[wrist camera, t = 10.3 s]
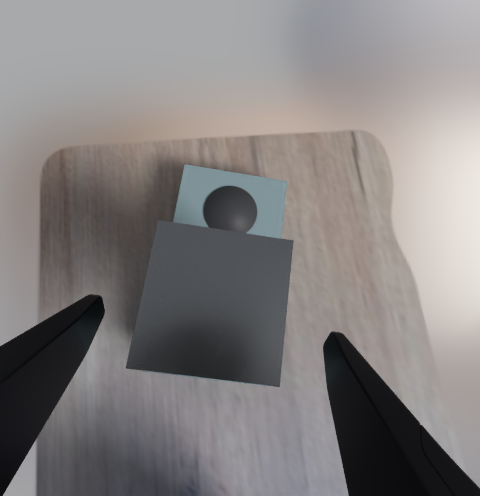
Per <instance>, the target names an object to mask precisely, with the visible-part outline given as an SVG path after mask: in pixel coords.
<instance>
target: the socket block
mask: <svg viewBox="0 0 480 496" xmlns="http://www.w3.org/2000/svg"><path fill="white" fill-rule="evenodd" d="M286 187H287V181H282V180H276V179H270V178H264V177H258V176H252V175H246V174H240V173H234V172H228V171H222V170H216V169H210V168H204V167H198V166H193V165H187V164H185V165H184V170H183V175H182V180H181V185H180V190H179V195H178V200H177V205H176V209H175V214H174V219H173V222H176V223H182V224H189V225H195V226H202V227H208V228H215V229H221V230H228V231H234V232H241V233H247V234H254V235H260V236H267V237H273V238H280V239H281V234H282V225H283V215H284V206H285V196H286ZM143 371H144V370H143ZM145 372H152V371H145ZM153 373H160V372H153ZM161 374H169V373H161ZM170 375H177V374H170ZM178 376H185V375H178ZM186 377H193V376H186ZM194 378H202V377H194ZM202 379H210V378H202ZM211 380H218V379H211ZM219 381H226V380H219ZM227 382H235V381H227ZM235 383H243V382H235ZM243 384H251V383H243ZM252 385H259V384H252ZM260 386H265V385H260Z"/></svg>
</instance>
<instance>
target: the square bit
mask: <svg viewBox="0 0 480 496" xmlns="http://www.w3.org/2000/svg"><path fill="white" fill-rule="evenodd" d="M292 249H293V240H286V239H280V238H273V237H267V236H260V235H254V234H247V233H241V232H234V231H228V230H221V229H215V228H208V227H202V226H195V225H189V224H182V223H176V222H170V221H163V220H158V221H157V226H156V230H155V235H154V240H153V244H152V249H151V253H150V258H149V263H148V267H147V272H146V277H145V281H144V286H143V291H142V295H141V300H140V304H139V309H138V314H137V318H136V323H135V328H134V332H133V337H132V342H131V346H130V351H129V355H128V360H127V365H126V368H127V369H136V370H144V371H152V372H160V373H169V374H177V375H185V376H193V377H202V378H210V379H218V380H226V381H235V382H243V383H251V384H259V385H267V386H276V387H280V376H281V365H282V355H283V344H284V334H285V323H286V312H287V302H288V291H289V281H290V270H291V260H292Z"/></svg>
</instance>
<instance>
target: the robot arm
mask: <svg viewBox="0 0 480 496" xmlns="http://www.w3.org/2000/svg"><path fill="white" fill-rule="evenodd" d="M104 313H105V309H104V304H103V299H102V297H101V296H99V295H93V294H90V295H87V296H86V297H84V298H82V299H80V300H79V301H77V302H75V303H74V304H72V305H70V306H68V307H67V308H65V309H63V310H62V311H60V312H58V313H56V314H55V315H53V316H51V317H50V318H48V319H46V320H44V321H43V322H41V323H39V324H38V325H36V326H34V327H33V328H31V329H30V330H27V331H26V332H24V333H22V334H20V335H19V336H17V337H15V338H14V339H12V340H10V341H9V342H7V343H5V344H3V345H2V346H0V496H3V494H4V492H5V491H6V489H7V487H8V486H9V484H10V482H11V480H12V479H13V477H14V475H15V474H16V472H17V470H18V469H19V467H20V465H21V464H22V462H23V460H24V459H25V457H26V455H27V454H28V452H29V450H30V449H31V447H32V445H33V443H34V442H35V440H36V438H37V437H38V435H39V433H40V432H41V430H42V428H43V427H44V425H45V423H46V421H47V420H48V418H49V416H50V415H51V413H52V411H53V410H54V408H55V406H56V405H57V403H58V401H59V400H60V398H61V396H62V394H63V393H64V391H65V389H66V388H67V386H68V384H69V383H70V381H71V379H72V378H73V376H74V374H75V372H76V371H77V369H78V367H79V366H80V364H81V362H82V361H83V359H84V357H85V355H86V353H87V351H88V349H89V347H90V345H91V343H92V341H93V338H94V336H95V334H96V332H97V330H98V328H99V325H100V323H101V321H102V319H103V317H104ZM323 352H324V362H325V373H326V383H327V390H328V395H329V400H330V405H331V410H332V415H333V420H334V425H335V430H336V435H337V440H338V444H339V449H340V454H341V459H342V464H343V469H344V474H345V479H346V484H347V489H348V494H349V496H480V488H479V487H478V486H477V485H476V484H475V483H474V482H473V481H472V480H471V479H470V478H469V477H468V476H467V475H466V474H465V472H464V471H463V470H462V469H461V468H460V467H459V466H458V465H457V464H456V463H455V462H454V461H453V460H452V459H451V458H450V456H449V455H448V454H447V453H446V452H445V451H444V450H443V449H442V448H441V446H440V445H439V444H438V443H437V442H436V441H435V440H434V439H433V437H432V436H431V435H430V434H429V433H428V432H427V430H426V429H425V428H424V427H423V426H422V425H420V423H419V421H418V420H417V419H416V418H415V417H414V415H413V414H412V413H411V412H410V411H409V410H408V409H407V407H406V406H405V405H404V404H403V403H402V402H401V400H400V399H399V398H398V397H397V396H396V395H395V393H394V392H393V391H392V390H391V389H390V388H389V387H388V385H387V384H386V383H385V382H384V381H383V380H382V378H381V377H380V376H379V375H378V374H377V373H376V371H375V370H374V369H373V368H372V367H371V366H370V364H369V363H368V362H367V361H366V360H365V359H364V358H363V356H362V355H361V354H360V353H359V352H358V351H357V349H356V348H355V347H354V346H353V345H352V344H351V342H350V341H349V340H348V339H347V338H346V337H345V335H344V334H342V333H340V332H331V333H330V334H329V336H328V338H327V339H326V341H325V343H324V346H323Z"/></svg>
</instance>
